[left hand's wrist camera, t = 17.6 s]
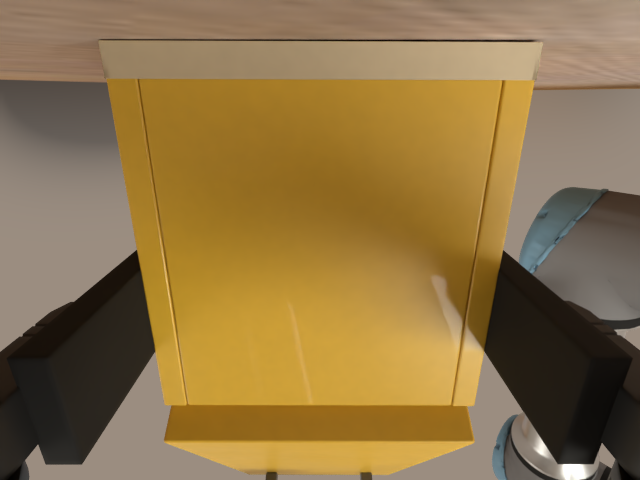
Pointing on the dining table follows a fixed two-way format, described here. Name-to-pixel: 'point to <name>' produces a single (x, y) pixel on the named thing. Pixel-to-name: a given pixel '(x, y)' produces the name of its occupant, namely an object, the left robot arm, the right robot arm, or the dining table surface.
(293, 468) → the lid
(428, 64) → the chest
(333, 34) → the dining table surface
